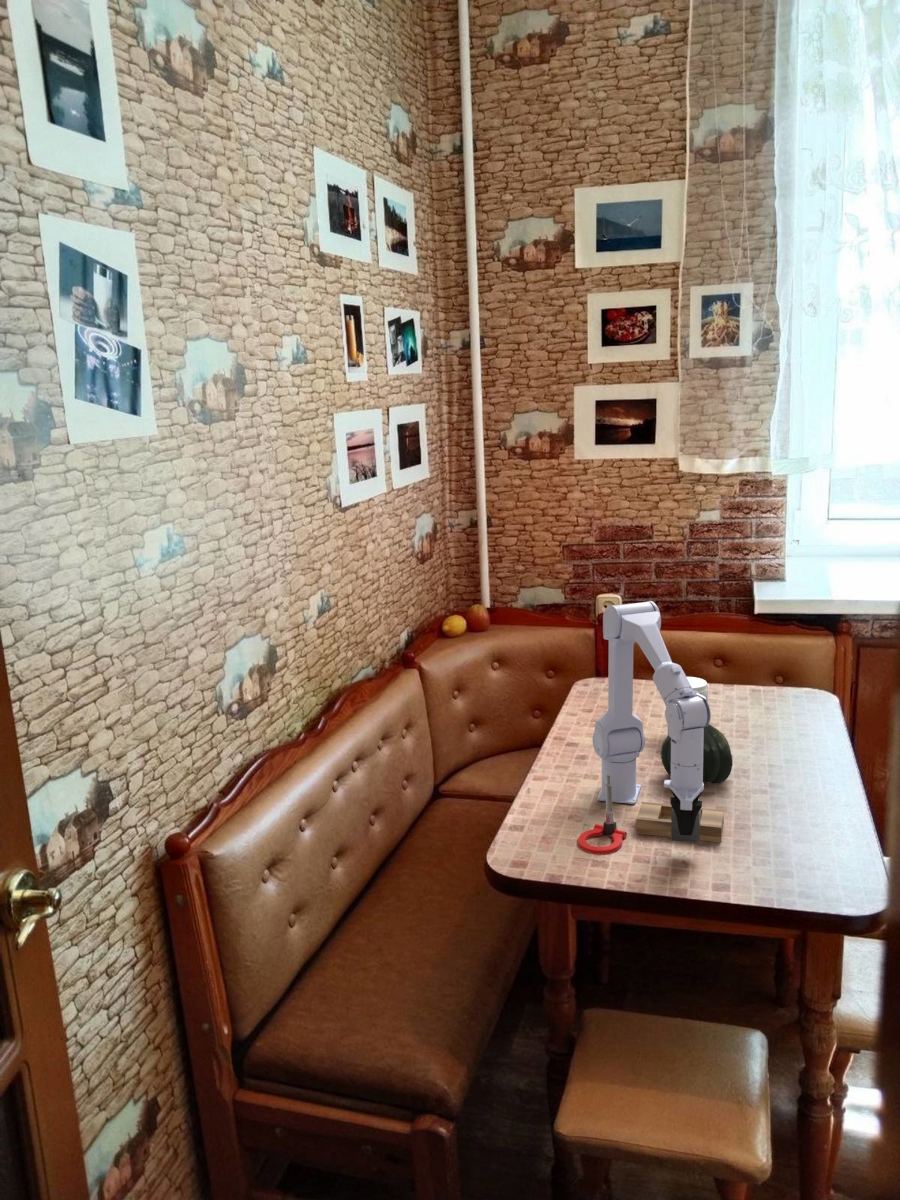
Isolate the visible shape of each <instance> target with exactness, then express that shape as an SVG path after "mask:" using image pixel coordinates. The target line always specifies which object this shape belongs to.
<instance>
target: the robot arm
mask: <svg viewBox="0 0 900 1200" xmlns="http://www.w3.org/2000/svg"><path fill="white" fill-rule="evenodd" d="M661 627H662V617H661V613H660V609H659V607H658V606H657V604H656V603H655V602H654V601H652V600H647V601H644V602H636V603H627V604H617V605H615V604H612V605H609V606H607V607H606V608H605V609H604V611H603V617H602V633H603V639H604V640H607V641H608V662H607V663H608V666H607V667H608V668H607V669H608V679H607V680H608V682H607V685H608V688H607V692H608V693H607V697H608V698H607V711H606V712H605V713H603V714H602V715H601V716H599V717H598V718H597V719H596V720H595V724H594V731H593V734H592V747H593V750H594V752H595V754H596V755H597V756H598V757H599V758H600V759H601V788H600V791H599V793H598V796H597V797H596V800H597V801H598V802H599V801H600V802H606V789H605V784H606V774H610V784H611V785H612V803H620V804H631V805H635V804H637V800H638V797H639V794H640V790H641V788H642V785H641V784H640V783H637V758H640V753H642V752H643V751H644V748H645V746H646V737H645V735H646V734H645V733H644V732H645V731H644V722H643V721H642V720H641V718H640V717H639V716H638V715H636V714H635V713H633V703H634V702H633V697H634V696H633V695H634V693H633V692H634V686H633V685H634V644H635V643H637V645H638V646H639V648H640V649H641V651H642V652H643V654H644V656H645V657H646V658H647V660H648V662H649V663H650V665H651V667H652V668H653V669H654V673H653V675H652V681H653V682H654V685H655V687H656V689H657V690H658V691H657V692H658V693H659V695H660V697H661V699H662V701H663V704H664V705H665V710H664V716H665V720H666V723H667V724H666V725H667V734H668V733H669V737H671V777H670V779H664V781H663V786H664V788H667V789H670V791H671V794H672V796H671V797H670V798H669V799H670V803H669V804H670V805H671V806H672V808H673V810H674V812H675V814H676V818H677V823H678V828H679V832H680V835H690V836H691V835H692V833H693V829H694V824H695V820H696V816H697V814H698V812H699V810H700V809H701V808H703V800H699V799H700V797H701V796H702V794H703V790H704V789H705V788H704V786H705V784H704V783H705V782H703V741H704V728H703V727H706V726H708V725H709V724H710V722H711V720H712V719H711V718H712V717H711V716H712V712H711V708H710V705H709V701H708V702H707V700H706V698H705V697H704V696H703V695H700V694H699V693H698V691H694V690H693V688H692V686H691V685H690V683H689V681H688V679H687V677H688V676H687V675H686V673H685V671H684V669H683V668H682V666H681V665H680V664H678V663H675V662H673V661H672V658H671V655H670V654H669V652H668V651H669V650H668V649H667V647H666V644H665V641H664V639H663V637H662V635H661V632H660V631H661Z"/></svg>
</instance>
